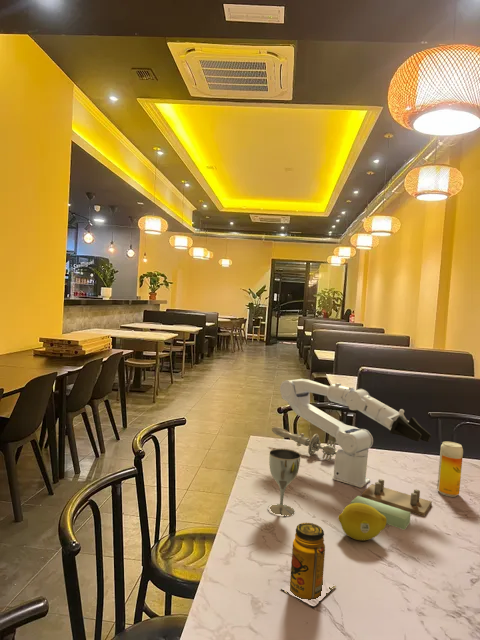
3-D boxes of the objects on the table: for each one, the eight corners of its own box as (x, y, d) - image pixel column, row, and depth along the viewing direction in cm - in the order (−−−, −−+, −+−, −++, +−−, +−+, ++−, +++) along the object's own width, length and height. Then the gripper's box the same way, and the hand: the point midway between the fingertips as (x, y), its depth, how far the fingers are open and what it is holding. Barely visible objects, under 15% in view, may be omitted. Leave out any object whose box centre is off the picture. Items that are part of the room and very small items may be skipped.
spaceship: (279, 420, 173) (271, 416, 167) (366, 452, 154) (360, 448, 148) (272, 440, 172) (263, 437, 165) (359, 474, 152) (353, 472, 146)
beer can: (461, 498, 130) (466, 448, 130) (439, 495, 131) (443, 445, 131) (455, 490, 136) (460, 442, 136) (434, 487, 137) (439, 439, 137)
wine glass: (300, 508, 117) (304, 452, 117) (290, 520, 110) (295, 461, 110) (272, 500, 121) (275, 446, 120) (261, 512, 114) (265, 454, 113)
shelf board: (350, 512, 118) (351, 501, 118) (356, 506, 122) (357, 495, 122) (404, 531, 110) (405, 519, 109) (409, 523, 114) (410, 512, 114)
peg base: (361, 496, 127) (362, 482, 127) (371, 487, 135) (373, 474, 134) (423, 516, 117) (425, 501, 117) (431, 505, 125) (432, 491, 125)
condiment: (280, 590, 84) (284, 527, 83) (304, 571, 90) (308, 513, 89) (313, 609, 79) (318, 543, 78) (336, 587, 85) (341, 526, 85)
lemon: (335, 541, 102) (337, 507, 102) (338, 525, 110) (341, 493, 109) (384, 552, 99) (387, 517, 98) (384, 535, 106) (387, 502, 106)
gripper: (377, 399, 126) (421, 424, 117) (398, 403, 137) (440, 426, 127) (367, 421, 127) (409, 448, 117) (388, 424, 137) (429, 448, 128)
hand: (424, 438), depth 122 cm, fingers open, 7 cm apart
